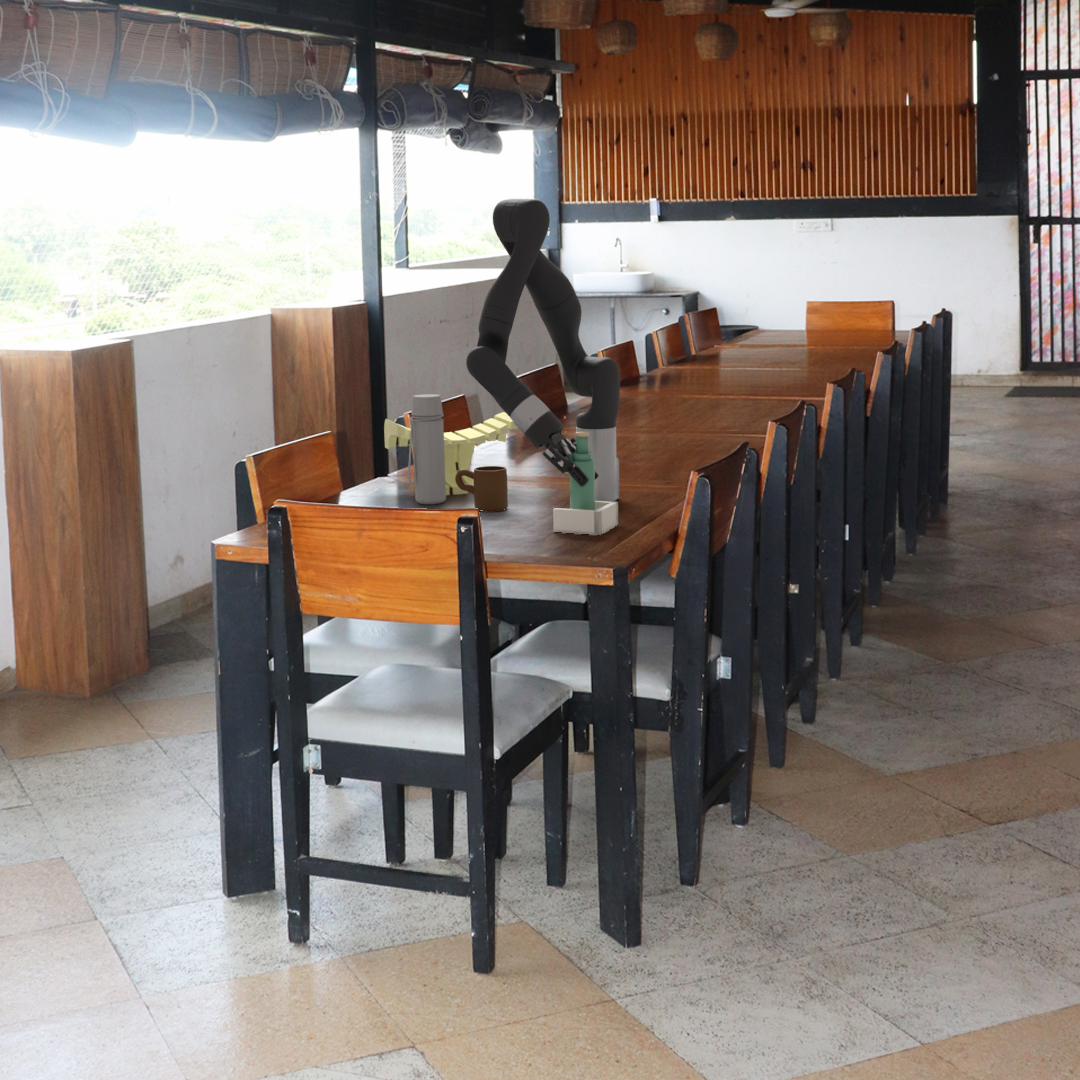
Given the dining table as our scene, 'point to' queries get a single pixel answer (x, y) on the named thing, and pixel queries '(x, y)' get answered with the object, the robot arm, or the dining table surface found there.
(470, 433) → the slatted curved stool
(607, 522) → the holder
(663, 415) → the dining table surface
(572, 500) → the green bottle
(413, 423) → the water bottle
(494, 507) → the mug
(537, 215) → the robot arm
